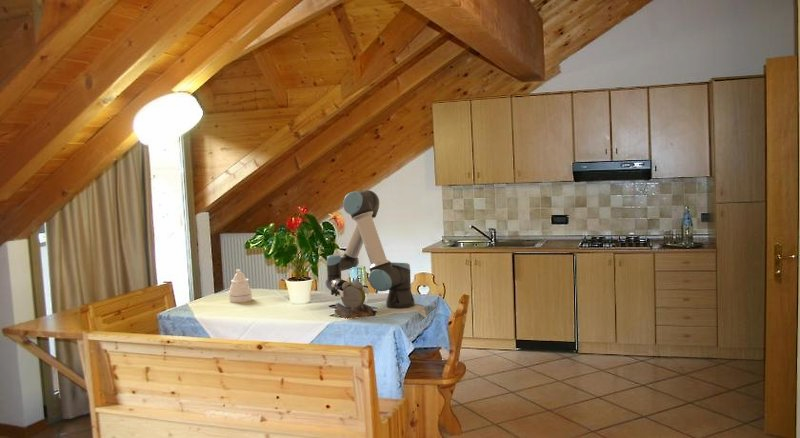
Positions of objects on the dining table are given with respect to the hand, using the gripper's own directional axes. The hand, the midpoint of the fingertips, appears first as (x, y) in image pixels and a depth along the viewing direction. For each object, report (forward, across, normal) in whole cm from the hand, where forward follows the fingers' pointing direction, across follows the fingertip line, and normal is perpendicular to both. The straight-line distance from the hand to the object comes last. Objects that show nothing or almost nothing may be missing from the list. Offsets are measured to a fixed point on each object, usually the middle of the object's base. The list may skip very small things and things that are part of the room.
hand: (355, 292), depth 346 cm
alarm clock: (-2, 0, -10) cm, 10 cm away
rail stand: (-3, 0, -12) cm, 12 cm away
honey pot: (-76, +42, -12) cm, 88 cm away
